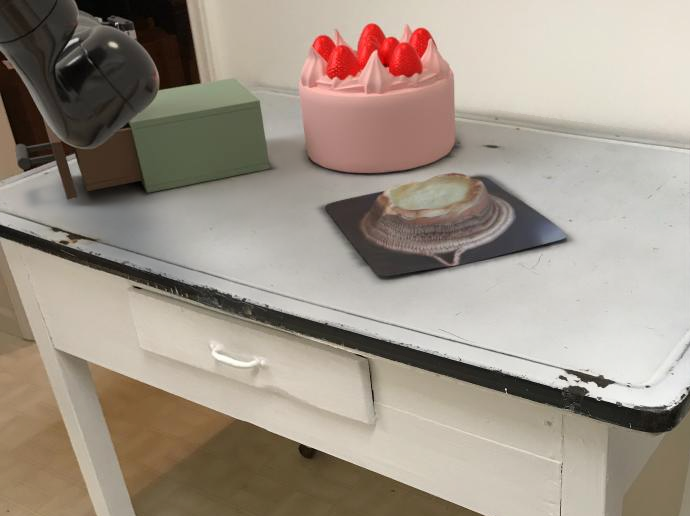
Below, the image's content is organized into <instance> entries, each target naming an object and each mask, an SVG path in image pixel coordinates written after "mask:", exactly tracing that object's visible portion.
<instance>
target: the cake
mask: <svg viewBox="0 0 690 516" xmlns="http://www.w3.org/2000/svg"><path fill="white" fill-rule="evenodd" d="M403 28H404V29H403V33H402V35H401V37H400V38H399V39H398V38H396V37H395V36H388V37H386V34H385V33H384V31H383V29H382V28H381V27H380V26H379V25H378V24H377V23H373V22H372V23H368V24H366V25H365V26H364V27H363V29H362V31H361V33H360V36H359V38H358V41H357V45H356V46H357V47H356V49H353V48H352V46H350V44H348V42H346V41H345V40H344V38H343V37H342V36H341V34H340V32H339V30H338V29H337V28H334V37H333V38H331V37H330V36H329V35H326V34H320V35H318V36H317V37H316V38H314V41H313V43H312V44H310V45H309V48H308V49H309V50H308V54H307V55H308V56H307V58H306V60H305V62H304V64H303V66H302V70H301V74H300V80H299V83H298V91H299V92H298V93H299V94H298V95H299V101H300V109H301V118H302V125H303V133H304V134H303V135H304V142H305V148H306V149H305V150H306V153H307V155H308V157H309V158H310V160H311V161H312V162H314V163H315V164H317V165H319V166H320V167H323V168H326V169H329V170H334V171H338V172H345V173H356V174H379V173H382V174H383V173H390V172H399V171H406V170H411V169H416V168H418V167H422V166H426V165H429V164H431V163H434V162H436V161H438V160H440V159H442V158H444V157H446V156H447V155H448V154H449V153H450V152H451V151H452V149H453V147H454V146H455V143H456V110H455V109H456V106H455V74H454V72H453V69H452V68H451V67H450V64H449V63H448V61H447V60H446V59H444V57H443V56H442V55H441V53H440V51H439V49H438V46H437V43H436V42H435V40H434V37H433V35H432V34H431V33H430V31H429V30H428V29H427V28H425V27H418V28H416V29H415V30H413V31H412V29H411V27H410V26H409V24H408V23H406V24H404V27H403Z"/></svg>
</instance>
